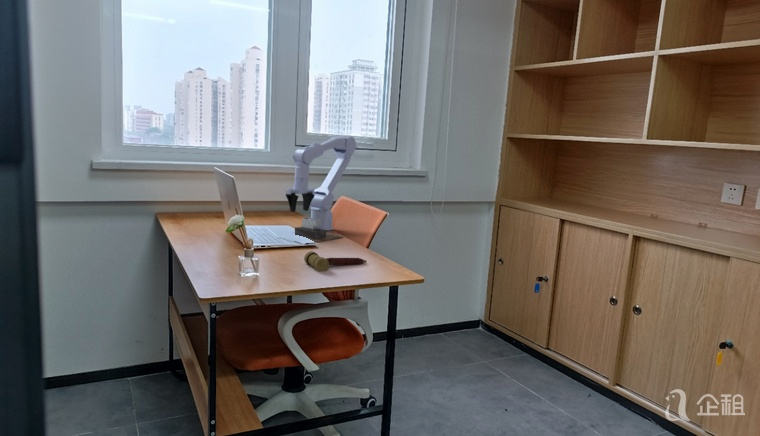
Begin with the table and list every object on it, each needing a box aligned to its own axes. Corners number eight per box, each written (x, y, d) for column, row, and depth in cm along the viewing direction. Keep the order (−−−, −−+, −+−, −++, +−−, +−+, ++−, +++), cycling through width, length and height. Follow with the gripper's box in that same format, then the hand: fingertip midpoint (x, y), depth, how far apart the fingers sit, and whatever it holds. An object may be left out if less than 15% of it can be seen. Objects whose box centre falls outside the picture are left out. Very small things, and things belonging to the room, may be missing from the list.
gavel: (360, 251, 190) (374, 258, 182) (359, 264, 191) (372, 271, 182) (304, 251, 179) (316, 258, 171) (303, 264, 180) (315, 272, 172)
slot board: (315, 231, 234) (315, 222, 233) (343, 237, 224) (343, 229, 224) (276, 237, 216) (276, 228, 216) (304, 244, 207) (305, 235, 206)
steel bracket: (306, 234, 223) (307, 217, 222) (320, 237, 219) (321, 220, 218) (301, 235, 221) (302, 218, 220) (315, 238, 217) (316, 221, 216)
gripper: (306, 177, 232) (304, 208, 234) (281, 177, 220) (279, 210, 222) (318, 179, 228) (316, 211, 230) (294, 179, 216) (291, 213, 218)
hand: (299, 211), depth 226 cm, fingers open, 7 cm apart
